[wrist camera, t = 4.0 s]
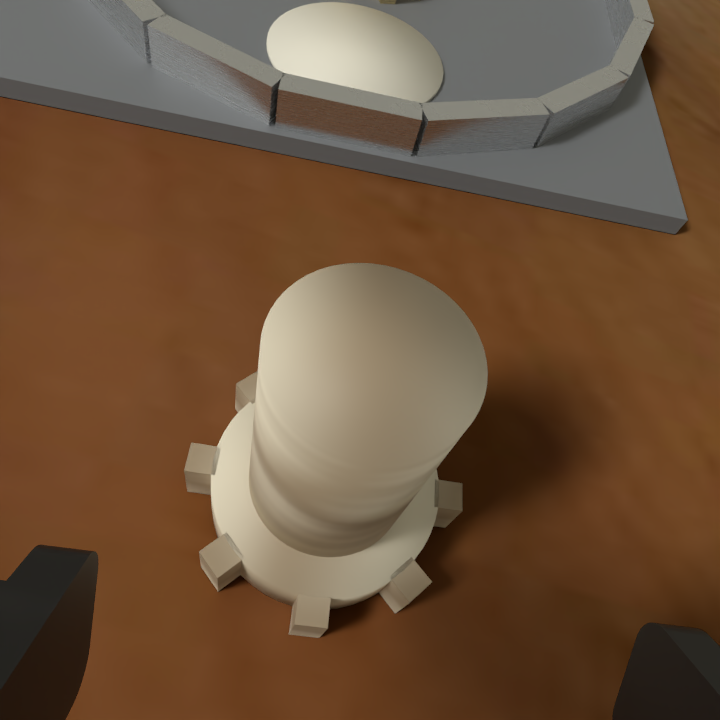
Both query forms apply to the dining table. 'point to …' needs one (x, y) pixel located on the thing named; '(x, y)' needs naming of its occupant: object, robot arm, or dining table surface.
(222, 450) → the planet gear
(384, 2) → the sun gear
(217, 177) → the dining table surface
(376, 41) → the carrier plate
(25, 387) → the dining table surface
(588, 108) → the ring gear
